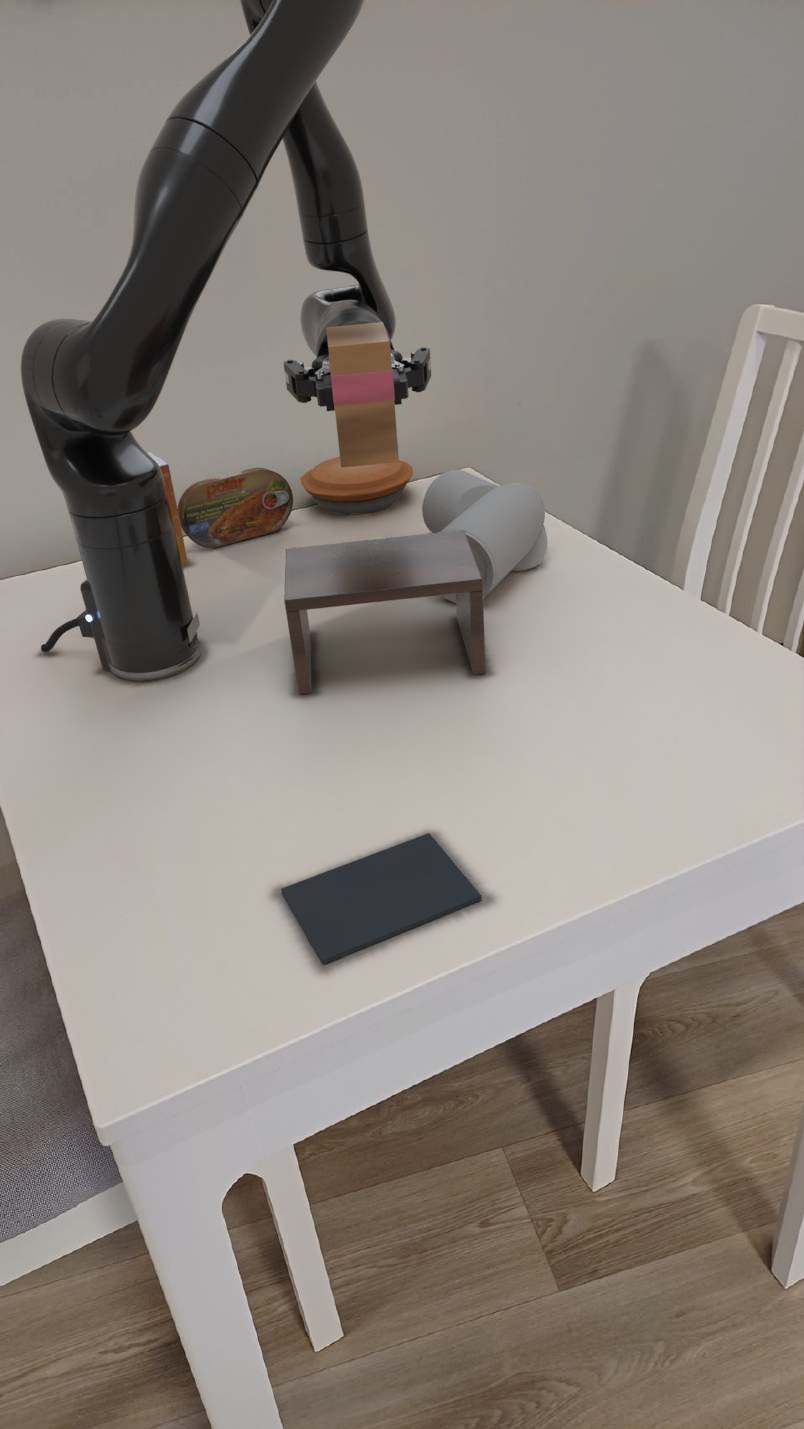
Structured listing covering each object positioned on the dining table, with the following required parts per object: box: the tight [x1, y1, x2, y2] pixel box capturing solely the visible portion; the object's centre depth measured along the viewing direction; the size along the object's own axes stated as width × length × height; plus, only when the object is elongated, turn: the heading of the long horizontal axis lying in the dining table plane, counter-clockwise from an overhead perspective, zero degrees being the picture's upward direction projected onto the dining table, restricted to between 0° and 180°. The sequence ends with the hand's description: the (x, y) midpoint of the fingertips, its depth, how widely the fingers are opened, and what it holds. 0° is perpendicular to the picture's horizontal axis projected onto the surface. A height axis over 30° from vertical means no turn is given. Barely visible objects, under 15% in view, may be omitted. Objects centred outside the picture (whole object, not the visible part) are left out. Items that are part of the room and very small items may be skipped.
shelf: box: [283, 530, 487, 695], centre depth 97 cm, size 12×18×10 cm, turn 95°
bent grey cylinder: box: [421, 469, 548, 604], centre depth 113 cm, size 18×11×20 cm
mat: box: [280, 832, 483, 965], centre depth 70 cm, size 12×8×1 cm, turn 116°
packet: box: [326, 322, 400, 467], centre depth 86 cm, size 8×5×10 cm, turn 5°
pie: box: [300, 456, 414, 515], centre depth 136 cm, size 16×16×5 cm
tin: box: [177, 467, 294, 549], centre depth 127 cm, size 15×3×8 cm, turn 117°
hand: (363, 395), depth 84 cm, fingers closed on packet, 5 cm apart
